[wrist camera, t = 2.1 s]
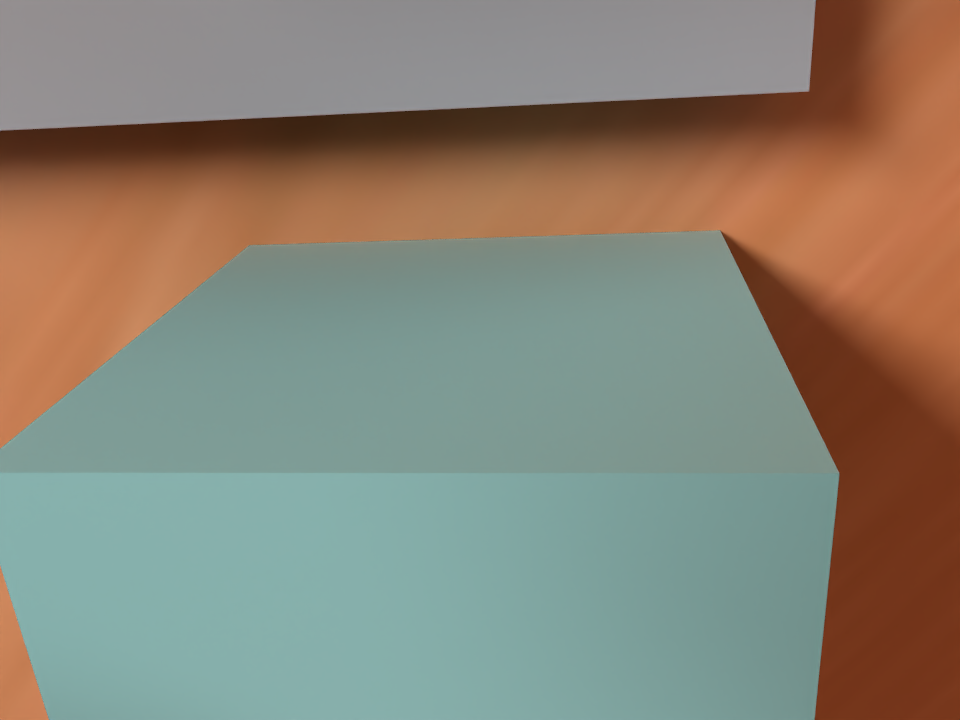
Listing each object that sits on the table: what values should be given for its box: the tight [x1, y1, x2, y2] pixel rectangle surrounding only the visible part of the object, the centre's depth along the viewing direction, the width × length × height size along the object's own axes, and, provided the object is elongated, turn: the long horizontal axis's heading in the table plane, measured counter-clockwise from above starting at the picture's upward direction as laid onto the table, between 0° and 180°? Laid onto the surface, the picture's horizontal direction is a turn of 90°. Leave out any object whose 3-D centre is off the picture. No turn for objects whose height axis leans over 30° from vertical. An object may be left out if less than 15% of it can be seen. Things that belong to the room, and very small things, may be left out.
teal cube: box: [0, 230, 839, 720], centre depth 8 cm, size 5×5×5 cm
